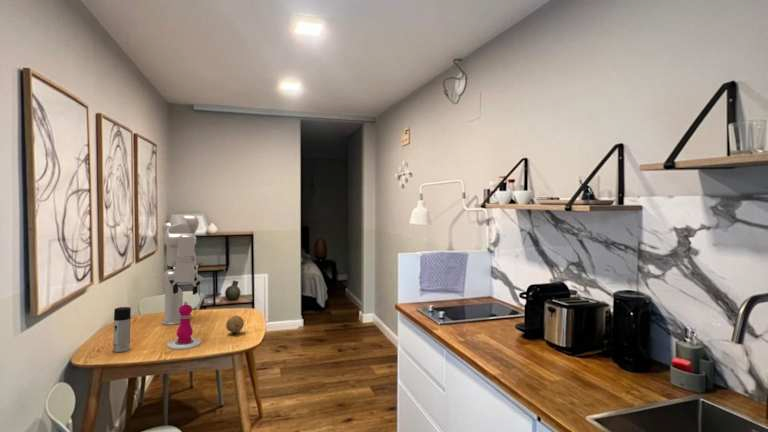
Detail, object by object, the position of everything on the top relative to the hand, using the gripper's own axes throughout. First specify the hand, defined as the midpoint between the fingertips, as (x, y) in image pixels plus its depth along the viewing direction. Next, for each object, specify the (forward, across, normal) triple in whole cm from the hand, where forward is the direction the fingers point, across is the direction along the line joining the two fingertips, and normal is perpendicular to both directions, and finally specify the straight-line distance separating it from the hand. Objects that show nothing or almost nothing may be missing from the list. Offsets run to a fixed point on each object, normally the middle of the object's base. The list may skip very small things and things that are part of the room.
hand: (185, 293), depth 202 cm
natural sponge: (+26, -18, -18) cm, 37 cm away
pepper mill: (+24, 0, 0) cm, 24 cm away
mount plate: (+26, 0, +1) cm, 26 cm away
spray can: (+26, +25, +11) cm, 37 cm away
